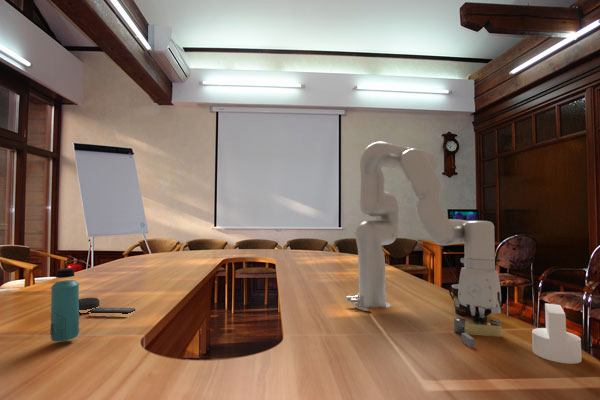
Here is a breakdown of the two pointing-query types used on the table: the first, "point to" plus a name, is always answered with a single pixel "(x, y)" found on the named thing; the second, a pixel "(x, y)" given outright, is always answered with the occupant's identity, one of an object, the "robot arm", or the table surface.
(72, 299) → the beverage bottle
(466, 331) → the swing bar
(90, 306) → the smart speaker
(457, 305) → the coffee mug
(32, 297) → the table surface
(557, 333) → the cylinder with rectangular tab
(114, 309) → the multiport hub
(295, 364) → the table surface
